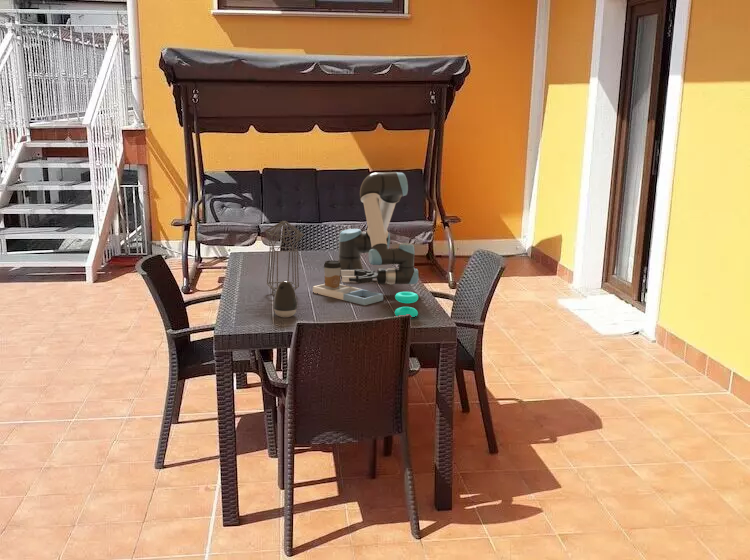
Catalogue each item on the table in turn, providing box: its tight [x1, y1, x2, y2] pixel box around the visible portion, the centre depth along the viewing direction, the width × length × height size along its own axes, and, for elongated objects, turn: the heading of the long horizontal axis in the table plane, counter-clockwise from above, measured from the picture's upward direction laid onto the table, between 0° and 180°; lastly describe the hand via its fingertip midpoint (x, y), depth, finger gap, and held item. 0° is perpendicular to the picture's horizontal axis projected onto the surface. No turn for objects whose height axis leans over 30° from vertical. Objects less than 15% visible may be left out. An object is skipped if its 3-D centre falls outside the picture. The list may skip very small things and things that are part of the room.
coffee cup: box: [323, 260, 341, 290], centre depth 366 cm, size 8×8×15 cm
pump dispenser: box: [272, 280, 298, 318], centre depth 324 cm, size 10×10×15 cm
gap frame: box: [312, 283, 384, 306], centre depth 361 cm, size 13×33×3 cm, turn 49°
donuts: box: [394, 291, 420, 318], centre depth 329 cm, size 10×10×10 cm
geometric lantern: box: [263, 220, 305, 297], centre depth 358 cm, size 16×16×35 cm
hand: (341, 275), depth 365 cm, fingers open, 13 cm apart
